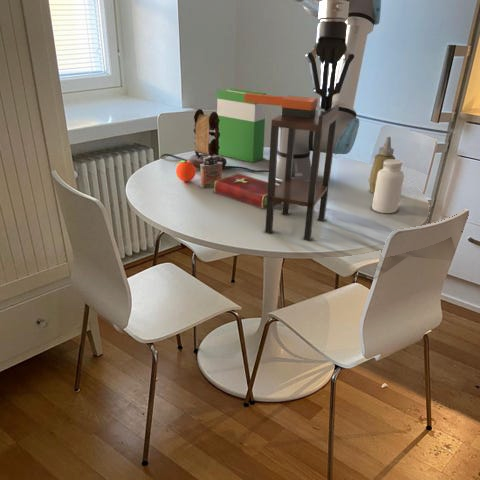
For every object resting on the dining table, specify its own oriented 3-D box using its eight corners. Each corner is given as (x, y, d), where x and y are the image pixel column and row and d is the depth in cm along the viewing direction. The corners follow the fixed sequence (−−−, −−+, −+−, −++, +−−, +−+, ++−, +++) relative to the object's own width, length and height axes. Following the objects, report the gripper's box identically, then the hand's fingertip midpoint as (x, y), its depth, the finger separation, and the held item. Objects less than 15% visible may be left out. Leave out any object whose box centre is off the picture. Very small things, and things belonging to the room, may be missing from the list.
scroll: (179, 167, 194) (177, 110, 182) (203, 159, 204) (202, 104, 192) (210, 175, 187) (210, 116, 176) (234, 166, 197) (234, 110, 186)
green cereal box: (217, 154, 210) (217, 90, 196) (228, 150, 215) (228, 87, 201) (252, 162, 202) (255, 95, 188) (263, 158, 207) (266, 93, 193)
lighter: (202, 188, 175) (202, 158, 169) (198, 185, 177) (198, 156, 171) (224, 185, 178) (224, 156, 172) (219, 182, 180) (219, 153, 175)
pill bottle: (368, 205, 166) (376, 157, 157) (392, 204, 166) (401, 157, 158) (375, 214, 159) (384, 165, 150) (400, 213, 160) (411, 165, 151)
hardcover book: (262, 208, 160) (263, 195, 158) (214, 192, 172) (214, 180, 169) (285, 199, 168) (286, 186, 166) (237, 184, 179) (238, 172, 177)
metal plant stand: (265, 232, 145) (272, 111, 127) (283, 212, 158) (292, 100, 140) (309, 240, 141) (322, 116, 123) (324, 219, 154) (339, 104, 136)
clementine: (170, 182, 180) (168, 161, 176) (179, 176, 185) (178, 156, 181) (190, 185, 177) (189, 164, 173) (199, 179, 183) (198, 159, 178)
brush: (241, 111, 135) (241, 94, 133) (248, 107, 140) (249, 91, 137) (310, 119, 130) (312, 102, 128) (316, 115, 134) (317, 98, 132)
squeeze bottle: (391, 196, 173) (402, 141, 162) (366, 194, 174) (376, 139, 163) (390, 189, 179) (400, 135, 169) (366, 187, 180) (376, 133, 170)
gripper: (312, 19, 127) (305, 122, 137) (361, 21, 128) (350, 123, 138) (305, 23, 133) (298, 121, 144) (351, 25, 135) (342, 122, 145)
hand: (324, 122), depth 141 cm, fingers closed
